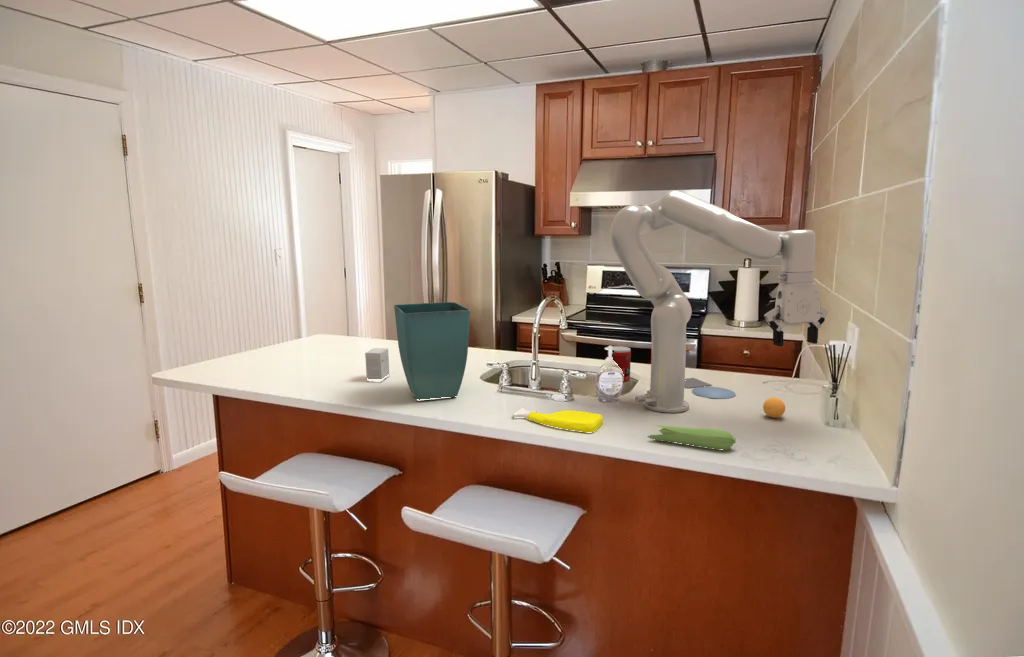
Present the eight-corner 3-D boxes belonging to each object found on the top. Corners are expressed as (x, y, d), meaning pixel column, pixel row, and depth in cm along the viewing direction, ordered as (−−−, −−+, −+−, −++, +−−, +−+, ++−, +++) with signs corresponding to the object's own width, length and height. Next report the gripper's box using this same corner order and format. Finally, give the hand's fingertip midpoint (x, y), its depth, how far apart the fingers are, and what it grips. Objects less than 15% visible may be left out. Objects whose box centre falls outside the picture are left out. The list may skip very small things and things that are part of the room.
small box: (375, 376, 199) (373, 347, 197) (390, 376, 198) (388, 348, 197) (366, 382, 191) (364, 352, 190) (381, 382, 191) (380, 352, 189)
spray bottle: (592, 437, 139) (506, 424, 151) (605, 423, 149) (523, 412, 160) (592, 425, 139) (506, 413, 150) (605, 413, 149) (523, 402, 160)
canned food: (630, 382, 188) (630, 351, 186) (606, 381, 189) (606, 350, 187) (629, 377, 195) (630, 346, 193) (606, 376, 197) (607, 345, 195)
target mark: (709, 400, 167) (709, 400, 167) (683, 389, 179) (683, 388, 179) (744, 396, 171) (744, 395, 171) (717, 385, 183) (717, 385, 183)
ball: (772, 421, 148) (774, 401, 147) (757, 415, 153) (759, 396, 152) (789, 419, 150) (790, 399, 149) (773, 413, 155) (775, 394, 154)
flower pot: (473, 400, 169) (471, 309, 164) (407, 408, 163) (403, 312, 158) (456, 384, 188) (454, 301, 183) (397, 390, 181) (393, 304, 176)
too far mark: (686, 388, 180) (686, 388, 180) (668, 380, 189) (668, 380, 189) (712, 385, 183) (712, 385, 183) (693, 378, 192) (693, 377, 192)
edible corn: (735, 438, 126) (736, 426, 129) (646, 428, 134) (649, 418, 137) (734, 456, 128) (735, 444, 131) (647, 446, 136) (650, 435, 140)
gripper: (775, 281, 137) (773, 349, 139) (838, 277, 139) (835, 344, 142) (757, 279, 144) (756, 344, 147) (817, 276, 147) (815, 339, 149)
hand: (795, 344), depth 144 cm, fingers open, 9 cm apart
